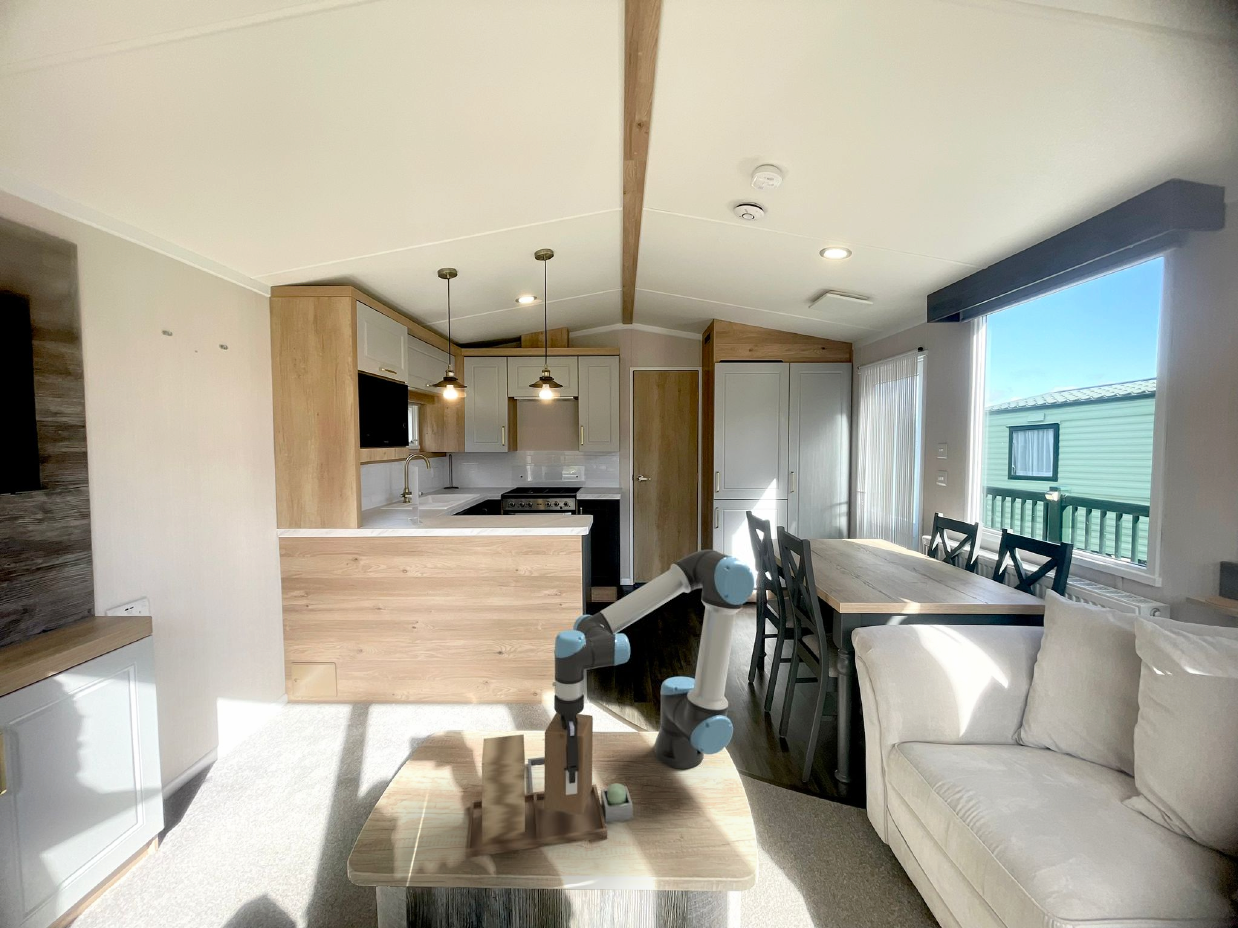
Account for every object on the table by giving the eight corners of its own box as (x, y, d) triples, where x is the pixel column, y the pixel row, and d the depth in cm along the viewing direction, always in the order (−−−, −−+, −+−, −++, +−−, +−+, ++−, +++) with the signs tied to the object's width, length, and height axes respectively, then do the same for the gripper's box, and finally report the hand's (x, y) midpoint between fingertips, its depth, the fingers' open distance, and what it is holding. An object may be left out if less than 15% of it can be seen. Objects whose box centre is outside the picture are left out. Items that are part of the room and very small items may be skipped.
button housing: (626, 800, 140) (626, 786, 140) (632, 819, 134) (632, 804, 133) (600, 803, 139) (600, 789, 139) (605, 823, 132) (605, 807, 132)
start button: (623, 794, 139) (623, 782, 139) (627, 807, 134) (627, 794, 134) (605, 797, 138) (605, 784, 138) (609, 809, 133) (609, 796, 133)
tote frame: (580, 757, 159) (580, 752, 159) (588, 792, 143) (588, 787, 143) (527, 763, 156) (527, 758, 155) (530, 800, 140) (530, 794, 140)
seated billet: (523, 808, 136) (523, 734, 135) (524, 837, 126) (524, 757, 125) (484, 813, 134) (483, 738, 133) (482, 843, 124) (481, 762, 123)
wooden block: (582, 815, 127) (583, 736, 126) (543, 809, 129) (544, 731, 128) (592, 788, 137) (593, 714, 136) (556, 783, 139) (556, 710, 138)
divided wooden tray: (595, 791, 144) (595, 784, 144) (607, 838, 127) (607, 830, 127) (471, 808, 137) (470, 800, 137) (465, 860, 120) (465, 851, 120)
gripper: (550, 673, 143) (549, 749, 144) (558, 721, 119) (558, 811, 120) (577, 671, 144) (576, 746, 146) (591, 718, 121) (590, 807, 122)
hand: (568, 775), depth 133 cm, fingers open, 12 cm apart
